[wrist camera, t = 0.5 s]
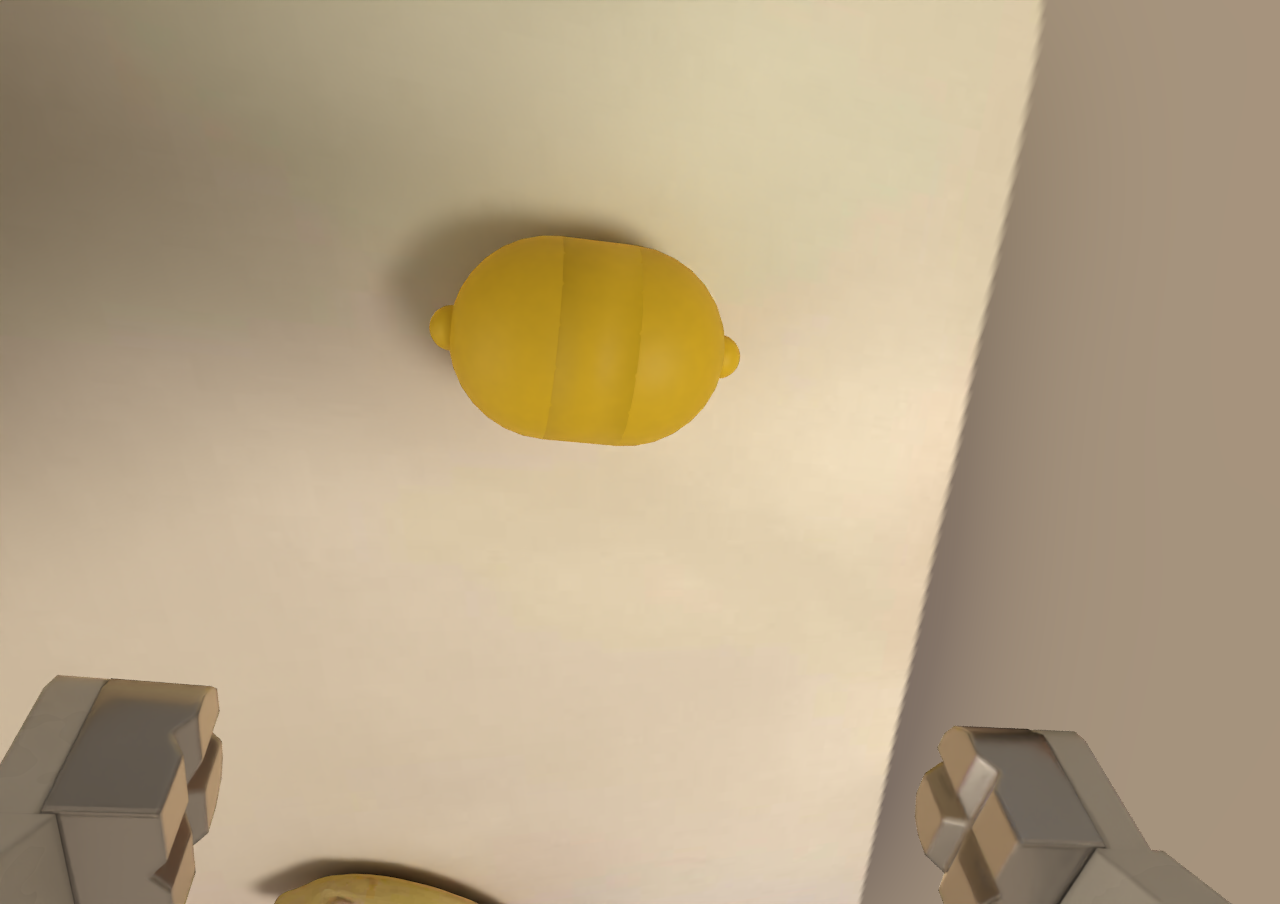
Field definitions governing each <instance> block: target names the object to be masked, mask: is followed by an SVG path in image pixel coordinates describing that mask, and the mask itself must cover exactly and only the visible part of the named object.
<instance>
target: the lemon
mask: <svg viewBox="0 0 1280 904" xmlns="http://www.w3.org/2000/svg"><path fill="white" fill-rule="evenodd" d="M429 330H430V334H431V337H432V339H433V340H434V342H435V343H436V344H437V345H438V346H439V347H441V348H443V349H445V350H449V351H450V355H451V359H452V364H453V368H454V370H455V373H456V375H457V377H458V380H459V382H460V384H461V386H462V388H463V389H464V391H465V392H466V394H467V395H468V397H469V398H470V399H471V401H472V402H473V403H474V404H475V405H476V406H477V407H478V408H479V409H480V410H481V411H482V412H483V413H484V414H485V415H486V416H487V417H488V418H490V419H491V420H493V421H494V422H496V423H497V424H499V425H501V426H502V427H504V428H506V429H508V430H511V431H513V432H516V433H518V434H521V435H524V436H529V437H534V438H539V439H547V440H558V441H569V442H580V443H591V444H602V445H613V446H636V445H641V444H646V443H650V442H655V441H657V440H659V439H662V438H664V437H666V436H669V435H671V434H673V433H675V432H676V431H677V430H679V429H680V428H682V427H683V426H685V425H686V424H688V423H689V422H690V421H691V420H692V419H693V418H694V417H695V416H696V415H697V414H698V413H699V412H700V411H701V410H702V409H703V408H704V406H705V405H706V403H707V402H708V400H709V398H710V397H711V395H712V393H713V392H714V390H715V388H716V386H717V383H718V380H719V378H724V377H727V376H729V375H730V374H732V373H733V372H734V371H735V369H736V368H737V366H738V364H739V360H740V352H739V349H738V347H737V345H736V343H735V342H734V341H733V340H732V339H731V338H729V337H727V336H724V330H723V324H722V321H721V318H720V315H719V311H718V308H717V305H716V303H715V302H714V300H713V298H712V296H711V295H710V293H709V291H708V290H707V288H706V286H705V285H704V284H703V283H702V281H701V280H700V279H699V278H698V277H697V276H696V275H695V274H694V273H693V271H691V270H690V269H689V268H687V267H686V266H684V265H683V264H682V263H680V262H679V261H678V260H676V259H674V258H672V257H670V256H668V255H666V254H664V253H661V252H659V251H657V250H654V249H650V248H645V247H641V246H637V245H629V244H621V243H613V242H605V241H597V240H589V239H581V238H573V237H565V236H536V237H531V238H525V239H521V240H518V241H516V242H513V243H511V244H508V245H505V246H503V247H501V248H500V249H498V250H497V251H495V252H494V253H492V254H491V255H489V256H488V257H486V258H485V259H484V260H483V261H482V262H481V263H480V264H479V265H478V266H477V267H476V268H475V269H474V270H473V271H472V272H471V273H470V275H469V276H468V278H467V279H466V281H465V282H464V284H463V285H462V287H461V288H460V290H459V293H458V295H457V298H456V300H455V303H454V305H447V306H444V307H442V308H440V309H438V310H437V311H436V312H435V313H434V315H433V316H432V318H431V321H430V326H429Z"/></svg>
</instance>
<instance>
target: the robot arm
mask: <svg viewBox="0 0 1280 904" xmlns="http://www.w3.org/2000/svg"><path fill="white" fill-rule="evenodd" d="M219 712H220V710H219V701H218V692H217V689H216V688H214V687H212V686H201V685H189V684H176V683H163V682H151V681H138V680H125V679H113V678H111V679H103V678H90V677H76V676H63V675H57V676H56V677H55V678H54V679H53V680H52V681H51V682H49V683H48V684H47V685H46V686H45V687H44V688H43V690H42V692H41V693H40V695H39V697H38V699H37V700H36V702H35V704H34V706H33V708H32V709H31V711H30V713H29V715H28V716H27V718H26V720H25V722H24V723H23V725H22V727H21V729H20V730H19V732H18V734H17V736H16V737H15V739H14V741H13V743H12V744H11V746H10V748H9V750H8V751H7V753H6V755H5V757H4V759H3V760H2V762H1V764H0V904H185V903H186V900H187V897H188V894H189V891H190V888H191V885H192V881H193V878H194V875H195V872H196V871H195V860H194V849H193V845H194V844H195V843H197V842H198V841H199V840H200V839H201V838H203V837H204V836H205V835H206V834H207V833H208V832H209V829H210V825H211V822H212V819H213V815H214V812H215V809H216V805H217V799H218V794H219V789H220V784H221V778H222V762H223V753H222V741H221V740H220V739H219V738H218V737H217V736H216V735H215V734H214V733H213V729H214V726H215V724H216V721H217V718H218V715H219ZM937 748H938V751H939V753H940V755H941V758H942V760H943V762H941V763H939V764H938V765H936V766H935V767H933V768H932V769H930V770H929V771H928V772H926V773H925V774H924V776H923V779H922V781H921V783H920V786H919V788H918V790H917V793H916V805H915V806H916V807H915V820H916V826H917V832H918V836H919V839H920V842H921V845H922V848H923V850H924V853H925V855H926V856H927V857H928V858H929V859H930V860H931V861H932V862H933V863H934V864H935V865H937V867H939V868H940V869H941V870H942V871H943V872H944V875H943V878H942V881H941V884H940V887H939V893H940V896H941V898H942V901H943V903H944V904H1231V903H1230V902H1229V901H1227V900H1226V899H1225V898H1223V897H1222V896H1221V895H1220V894H1218V893H1217V892H1216V891H1214V890H1213V889H1212V888H1210V887H1209V886H1208V885H1207V884H1205V883H1204V882H1203V881H1201V880H1200V879H1199V878H1198V877H1196V876H1195V875H1194V874H1192V873H1191V872H1190V871H1189V870H1187V869H1186V868H1185V867H1183V866H1182V865H1181V864H1180V863H1178V862H1177V861H1176V860H1174V859H1173V858H1172V857H1170V856H1169V855H1167V853H1165V852H1164V851H1157V850H1151V849H1150V847H1149V846H1148V844H1147V842H1146V841H1145V839H1144V837H1143V836H1142V834H1141V832H1140V831H1139V829H1138V827H1137V826H1136V824H1135V822H1134V821H1133V819H1132V817H1131V816H1130V814H1129V812H1128V811H1127V809H1126V807H1125V806H1124V804H1123V802H1122V801H1121V799H1120V797H1119V796H1118V794H1117V792H1116V791H1115V789H1114V787H1113V786H1112V784H1111V783H1110V781H1109V779H1108V778H1107V776H1106V774H1105V773H1104V771H1103V769H1102V768H1101V766H1100V764H1099V763H1098V761H1097V759H1096V758H1095V756H1094V754H1093V753H1092V751H1091V749H1090V748H1089V746H1088V744H1087V743H1086V741H1085V740H1084V739H1083V738H1082V737H1081V736H1079V735H1078V734H1077V733H1076V732H1071V731H1051V730H1029V729H1015V728H991V727H968V726H954V727H952V728H951V729H950V730H948V731H947V732H946V733H945V734H944V735H943V737H942V739H941V741H940V743H939V745H938V747H937Z"/></svg>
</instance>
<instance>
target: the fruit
mask: <svg viewBox="0 0 1280 904" xmlns="http://www.w3.org/2000/svg"><path fill="white" fill-rule="evenodd" d="M274 904H478V903H476V902H474V901H471V900H469V899H467V898H464V897H461V896H458V895H455V894H452V893H450V892H447V891H444V890H441V889H438V888H435V887H432V886H428V885H424V884H420V883H416V882H412V881H408V880H403V879H398V878H393V877H387V876H380V875H372V874H343V875H333V876H327V877H323V878H319V879H317V880H314V881H312V882H310V883H308V884H306V885H304V886H301V887H299V888H296V889H293V890H290V891H287V892H285V893H283V894H282V895H280V896H279V897H278V898H277V900H276V901H275V903H274Z"/></svg>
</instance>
